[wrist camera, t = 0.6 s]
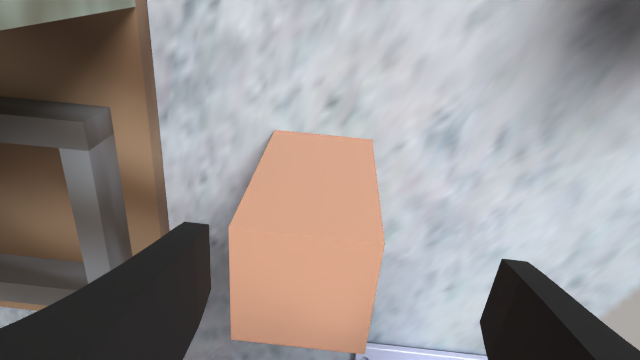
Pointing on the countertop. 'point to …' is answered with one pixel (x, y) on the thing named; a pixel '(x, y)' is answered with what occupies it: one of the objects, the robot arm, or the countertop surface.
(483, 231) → the countertop surface
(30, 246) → the socket stand
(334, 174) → the peg
